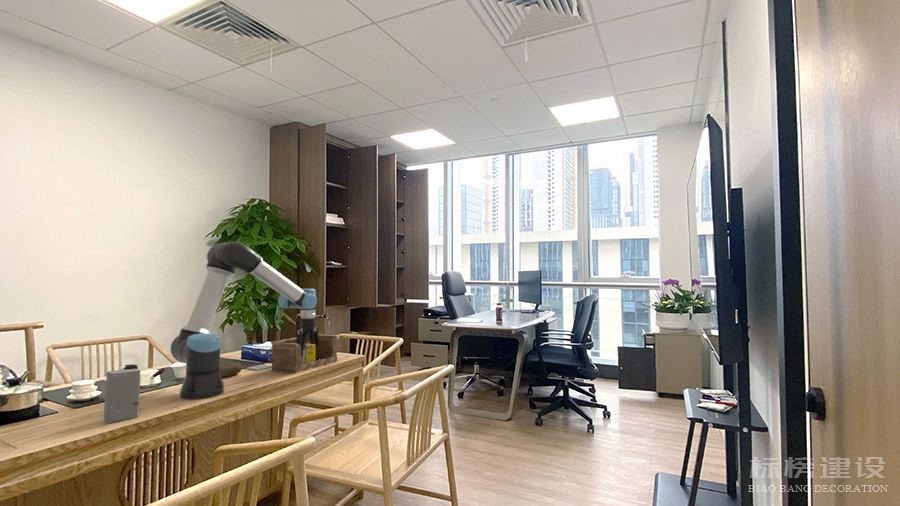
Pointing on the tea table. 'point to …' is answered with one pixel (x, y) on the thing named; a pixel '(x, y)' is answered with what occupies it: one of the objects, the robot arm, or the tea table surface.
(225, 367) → the stone weight
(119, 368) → the medicine bottle
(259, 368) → the pad
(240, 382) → the tea table surface
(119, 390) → the skincare box
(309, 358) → the supplement box
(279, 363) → the crate
